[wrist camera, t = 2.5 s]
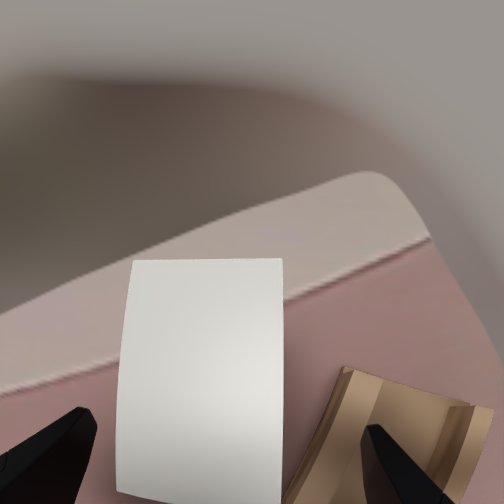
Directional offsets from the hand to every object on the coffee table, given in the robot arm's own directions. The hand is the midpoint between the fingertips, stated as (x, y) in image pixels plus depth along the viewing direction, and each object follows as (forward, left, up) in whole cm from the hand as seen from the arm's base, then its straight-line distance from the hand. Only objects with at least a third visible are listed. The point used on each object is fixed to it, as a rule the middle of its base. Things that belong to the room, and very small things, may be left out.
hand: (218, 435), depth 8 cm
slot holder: (-8, -4, -9) cm, 12 cm away
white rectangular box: (+1, -1, -9) cm, 9 cm away
